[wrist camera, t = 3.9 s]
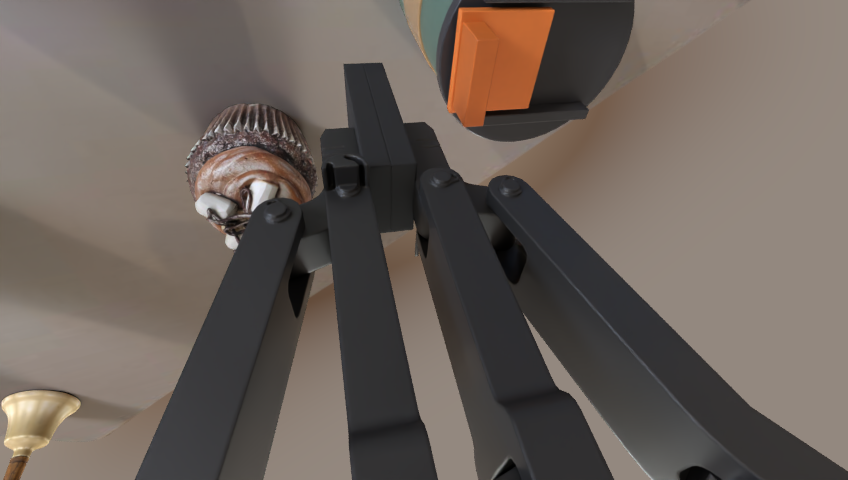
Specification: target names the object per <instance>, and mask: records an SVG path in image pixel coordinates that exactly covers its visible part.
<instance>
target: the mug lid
mask: <svg viewBox="0 0 848 480" xmlns="http://www.w3.org/2000/svg"><path fill="white" fill-rule="evenodd" d="M475 7H551V8H552V9H554V10H555V13H554V16H553V20H552V23H551V27H550V31H549V34H548V38H547V42H546V45H545V49H544V52H543V56H542V60H541V63H540V67H539V71H538V74H537V78H536V81H535V85H534V89H533V92H532V96H531V100H530V103H529V107H528V108H524V109H508V110H492V111H486V113H485V119H484V124H483V126H475V127H465V128H466V129H467V130H469V131H470V132H472V133H474V134H475V135H478V136H480V137H483V138H485V139H489V140H493V141H502V142H514V141H522V140H527V139H531V138H535V137H538V136H540V135H543V134H546V133H548V132H550V131H552V130H554V129H556V128H558V127H560V126H561V125H563V124H565V123H566V122H568V121H569V120H575V119H585V118H586V116H587V114H588V111H589V109H588V108H587V106H588V105H589V104H590V103H591V102H592V101H593V100H594V99H595V98H596V96H597V95H598V94H599V93H600V92H601V90H602V89H603V88H604V87H605V85H606V84H607V82H608V81H609V80H610V78H611V77H612V75H613V73H614V72H615V70H616V68H617V67H618V65H619V63H620V61H621V59H622V56H623V54H624V52H625V49H626V47H627V44H628V41H629V38H630V34H631V30H632V26H633V18H634V0H453V1H452V3H451V5H450V7H449V9H448V11H447V14H446V16H445V19H444V21H443V24H442V27H441V31H440V34H439V38H438V44H437V51H436V72H437V80H438V84H439V88H440V91H441V94H442V96H443V98H444V101H445V103H446V105H448V97H449V88H450V80H451V71H452V62H453V54H454V45H455V37H456V28H457V20H458V11H459V8H475ZM452 115H453V116H454V117H455V118H456V120H457V121H458V122H459V123H460V124H461V125H462V123H461V121H460V119H459V117H458V115H457V113H452ZM462 126H463V125H462ZM463 127H464V126H463Z"/></svg>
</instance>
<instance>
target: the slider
mask: <svg viewBox="0 0 848 480" xmlns="http://www.w3.org/2000/svg"><path fill="white" fill-rule="evenodd" d="M554 13H555V10H554V9H552V8H551V7H475V8H459V11H458V20H457V28H456V37H455V45H454V54H453V62H452V71H451V80H450V88H449V97H448V105H447V109H448V111H449V113H457V115H458V117H459V119H460V121H461V123H462V125H463V126H464V127H475V126H483V124H484V119H485V113H486V111H492V110H508V109H524V108H528V107H529V103H530V100H531V96H532V92H533V89H534V85H535V81H536V78H537V74H538V71H539V67H540V63H541V60H542V56H543V52H544V49H545V45H546V42H547V38H548V34H549V31H550V27H551V23H552V20H553V16H554Z"/></svg>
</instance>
